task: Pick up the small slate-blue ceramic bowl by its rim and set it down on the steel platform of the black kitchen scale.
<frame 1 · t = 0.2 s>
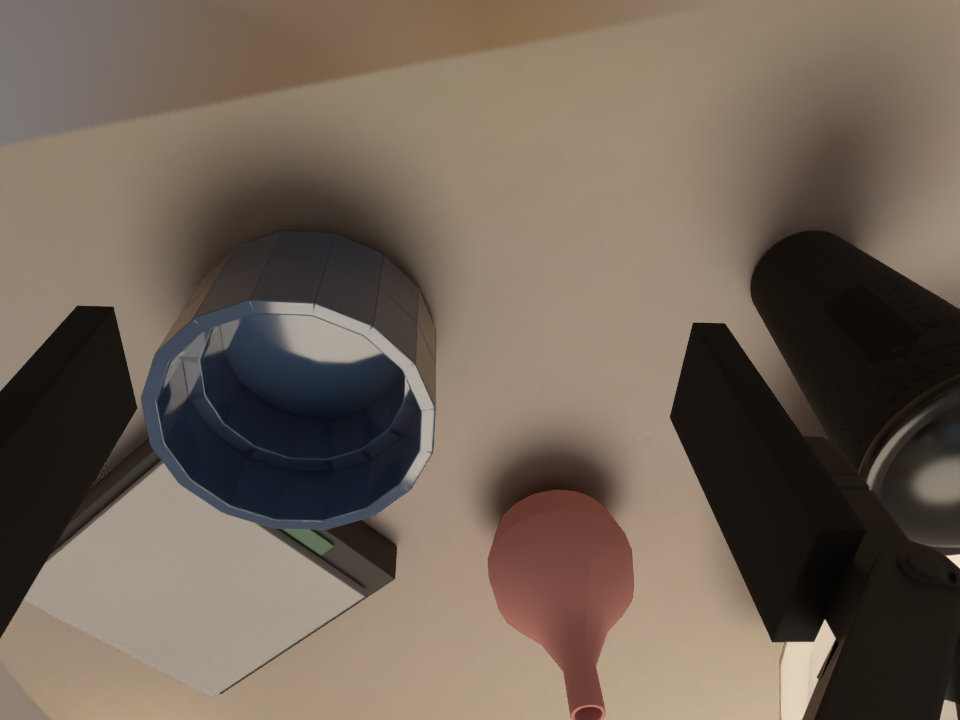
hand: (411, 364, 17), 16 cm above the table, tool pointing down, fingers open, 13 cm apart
scale: (214, 546, 41), on the table
pink bud vase: (550, 514, 42), on the table
bowl: (915, 512, 43), on the table
blue bowl: (316, 337, 34), on the table
drinking cup: (799, 277, 34), on the table
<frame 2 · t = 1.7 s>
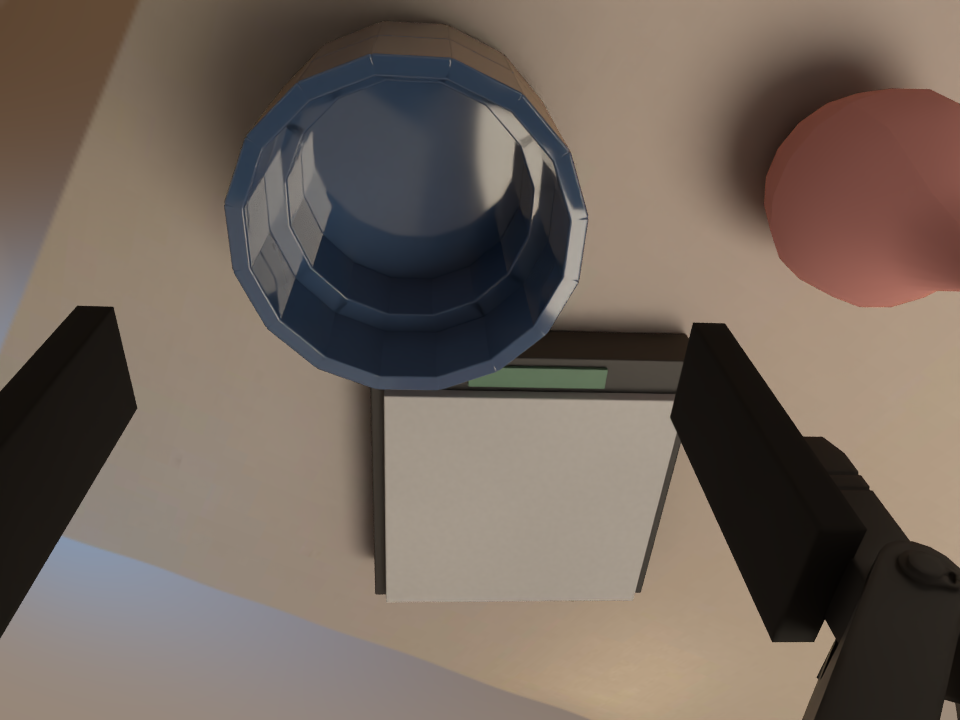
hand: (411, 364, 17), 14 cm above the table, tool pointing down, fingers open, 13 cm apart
scale: (518, 457, 37), on the table
pink bud vase: (828, 166, 30), on the table
blue bowl: (413, 174, 29), on the table
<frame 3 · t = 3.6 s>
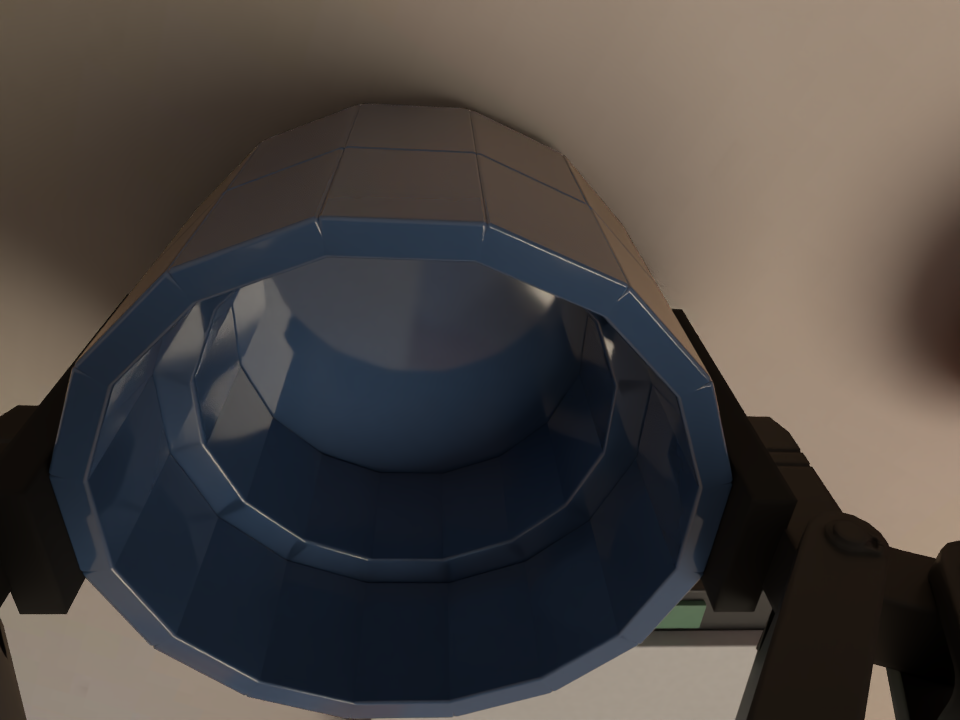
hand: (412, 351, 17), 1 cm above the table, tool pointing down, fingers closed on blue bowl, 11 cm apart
scale: (560, 677, 26), on the table
blue bowl: (413, 327, 18), on the table, touching gripper
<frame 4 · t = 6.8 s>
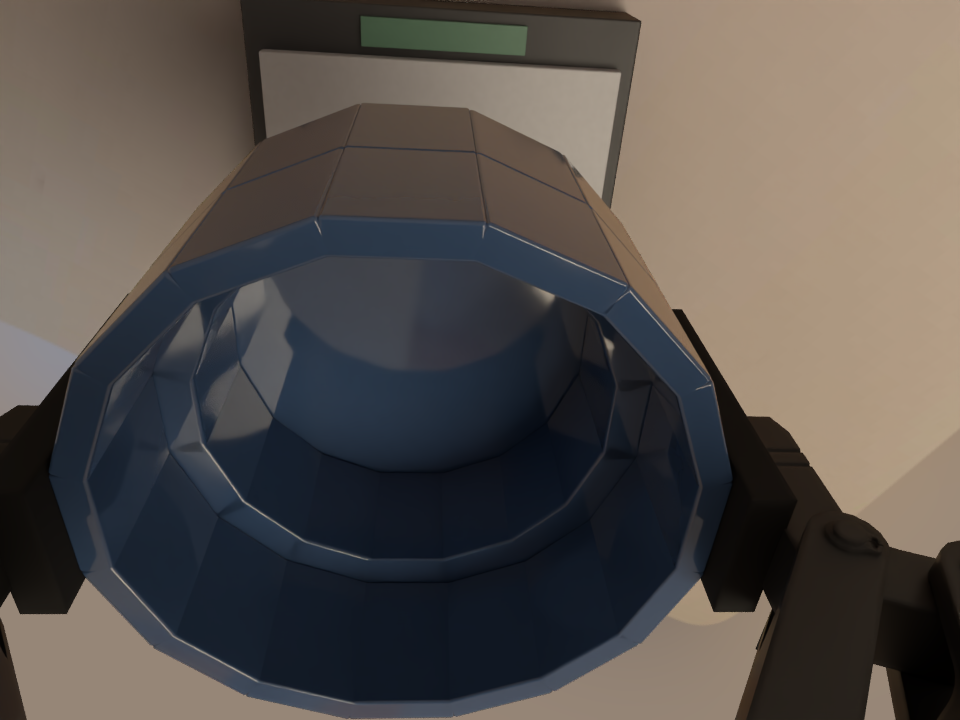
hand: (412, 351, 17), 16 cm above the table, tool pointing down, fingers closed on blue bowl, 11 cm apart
scale: (438, 189, 32), on the table
blue bowl: (413, 327, 18), point 15 cm above the table, touching gripper
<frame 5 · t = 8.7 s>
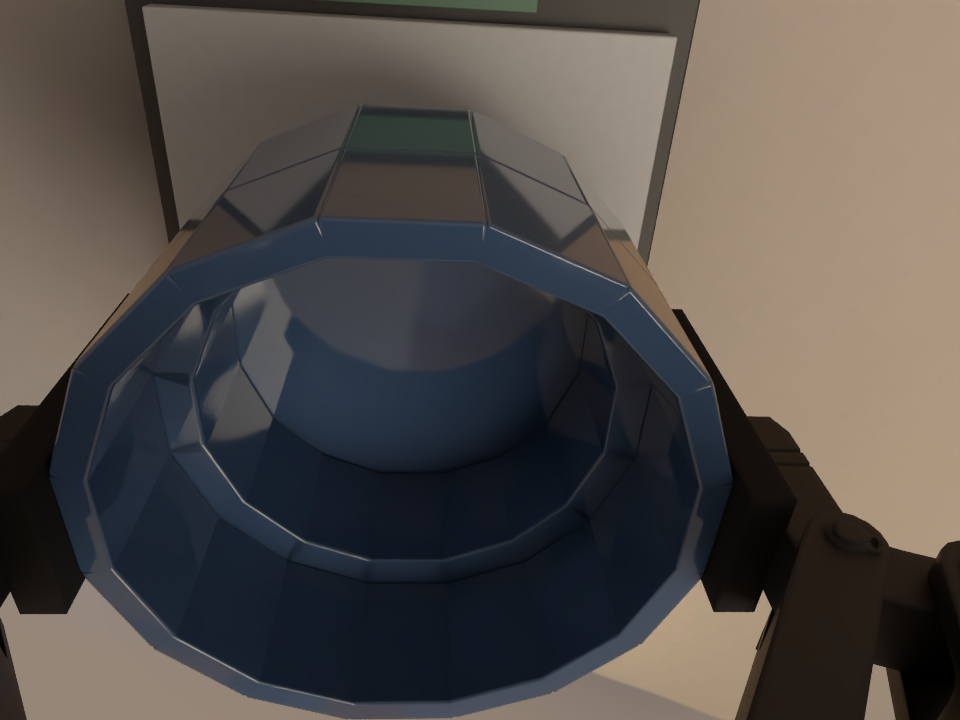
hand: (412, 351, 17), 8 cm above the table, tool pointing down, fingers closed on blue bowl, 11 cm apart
scale: (416, 204, 23), on the table
blue bowl: (413, 328, 18), point 7 cm above the table, touching gripper
when the fingers open (4 cm above the table, at t = 10.3 s): blue bowl stays where it is, resting on scale.
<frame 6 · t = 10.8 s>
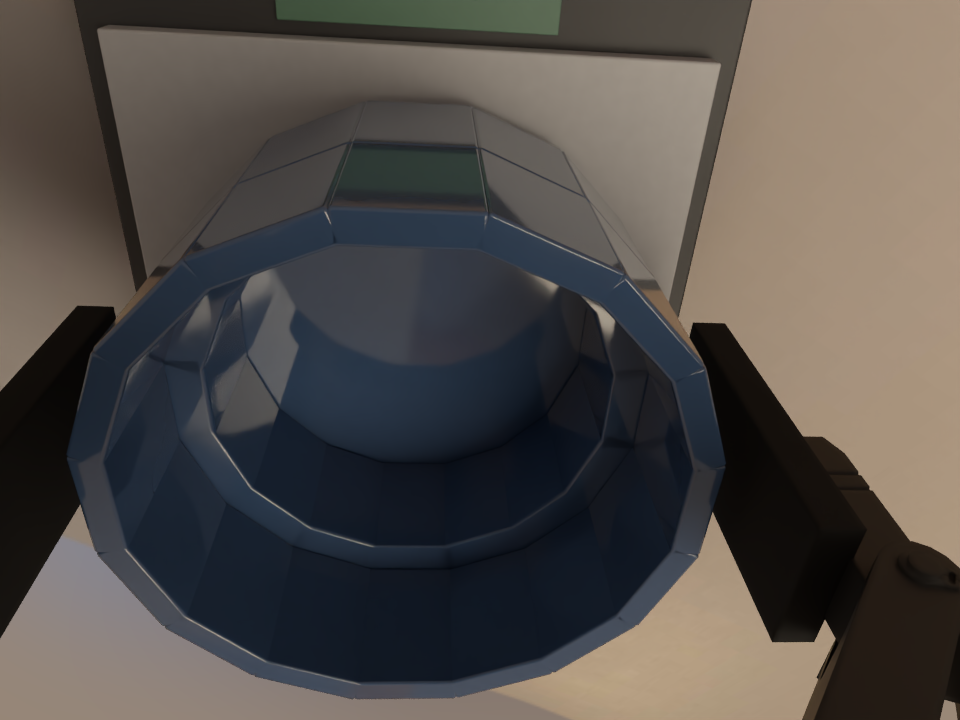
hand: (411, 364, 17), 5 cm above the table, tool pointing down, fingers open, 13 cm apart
scale: (418, 245, 21), on the table
blue bowl: (416, 320, 19), point 3 cm above the table, touching scale
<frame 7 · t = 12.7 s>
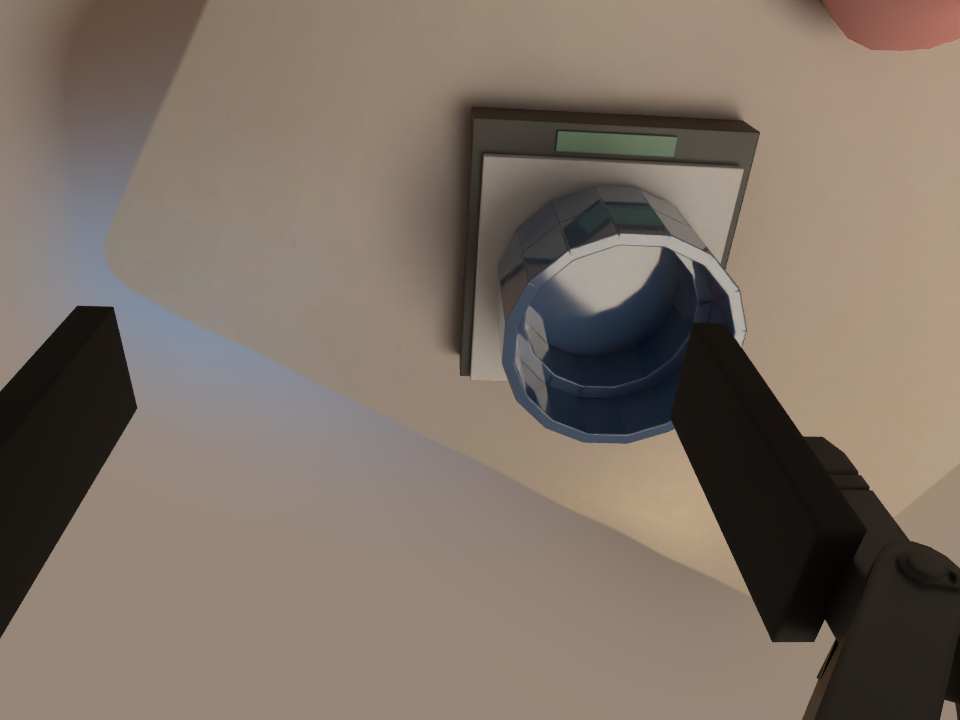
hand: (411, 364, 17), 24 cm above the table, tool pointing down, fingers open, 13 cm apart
scale: (590, 247, 42), on the table
blue bowl: (597, 283, 39), point 3 cm above the table, touching scale
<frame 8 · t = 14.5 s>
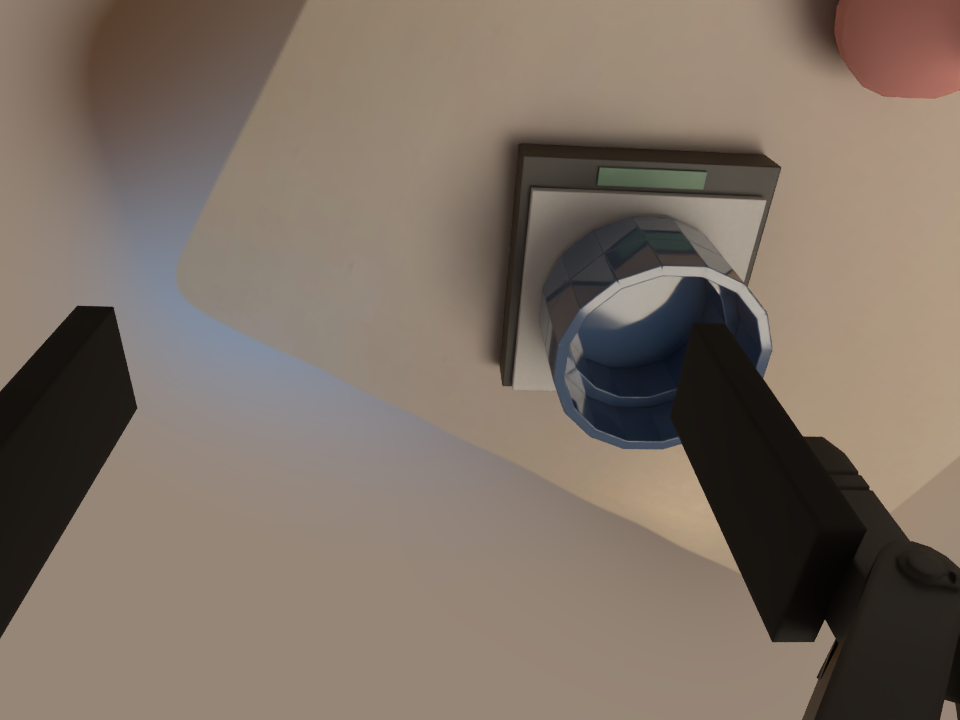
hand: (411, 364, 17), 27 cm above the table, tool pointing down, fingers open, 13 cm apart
scale: (622, 268, 45), on the table
pink bud vase: (882, 6, 38), on the table
blue bowl: (631, 302, 43), point 3 cm above the table, touching scale
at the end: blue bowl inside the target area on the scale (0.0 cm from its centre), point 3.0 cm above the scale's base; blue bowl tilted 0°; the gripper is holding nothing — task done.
